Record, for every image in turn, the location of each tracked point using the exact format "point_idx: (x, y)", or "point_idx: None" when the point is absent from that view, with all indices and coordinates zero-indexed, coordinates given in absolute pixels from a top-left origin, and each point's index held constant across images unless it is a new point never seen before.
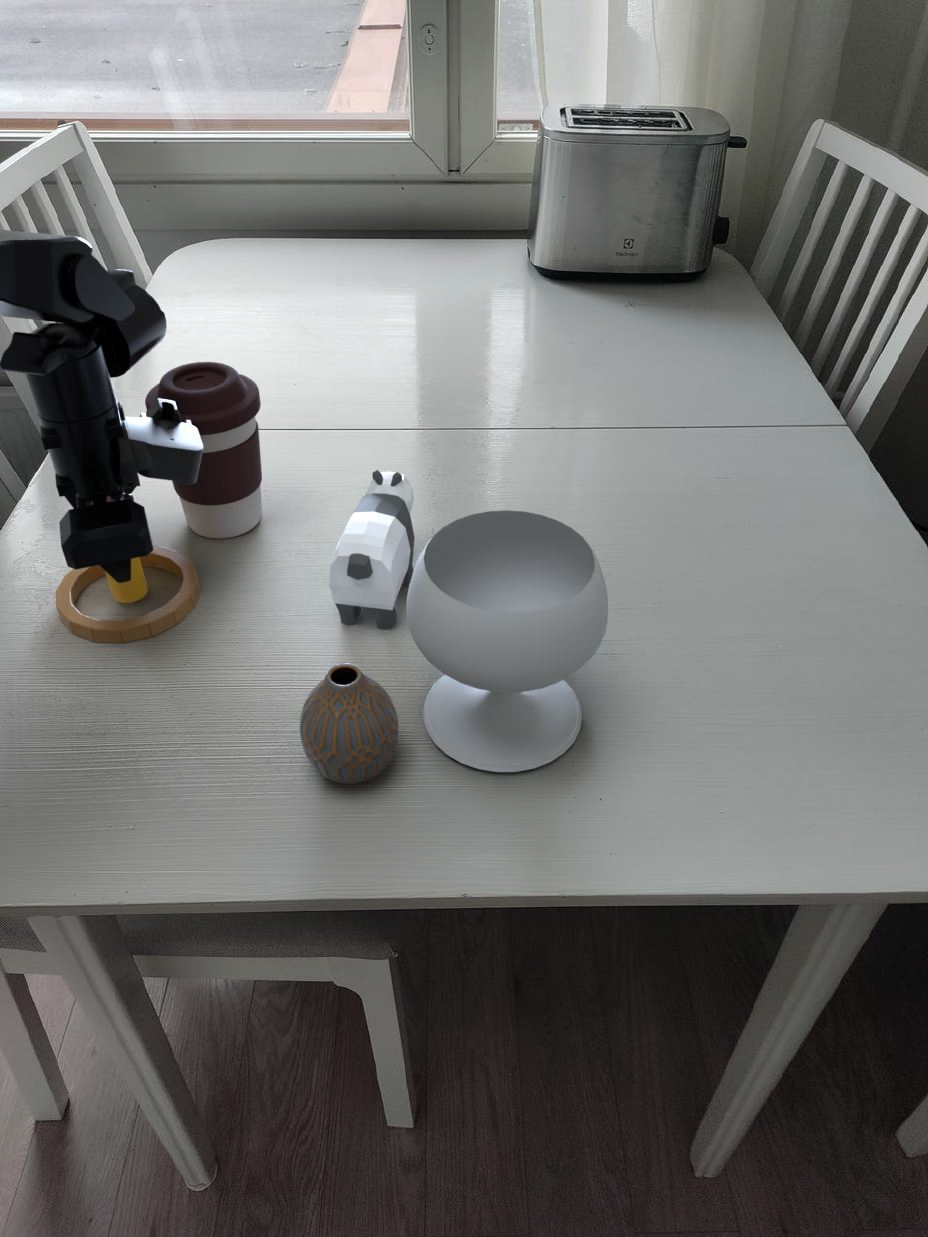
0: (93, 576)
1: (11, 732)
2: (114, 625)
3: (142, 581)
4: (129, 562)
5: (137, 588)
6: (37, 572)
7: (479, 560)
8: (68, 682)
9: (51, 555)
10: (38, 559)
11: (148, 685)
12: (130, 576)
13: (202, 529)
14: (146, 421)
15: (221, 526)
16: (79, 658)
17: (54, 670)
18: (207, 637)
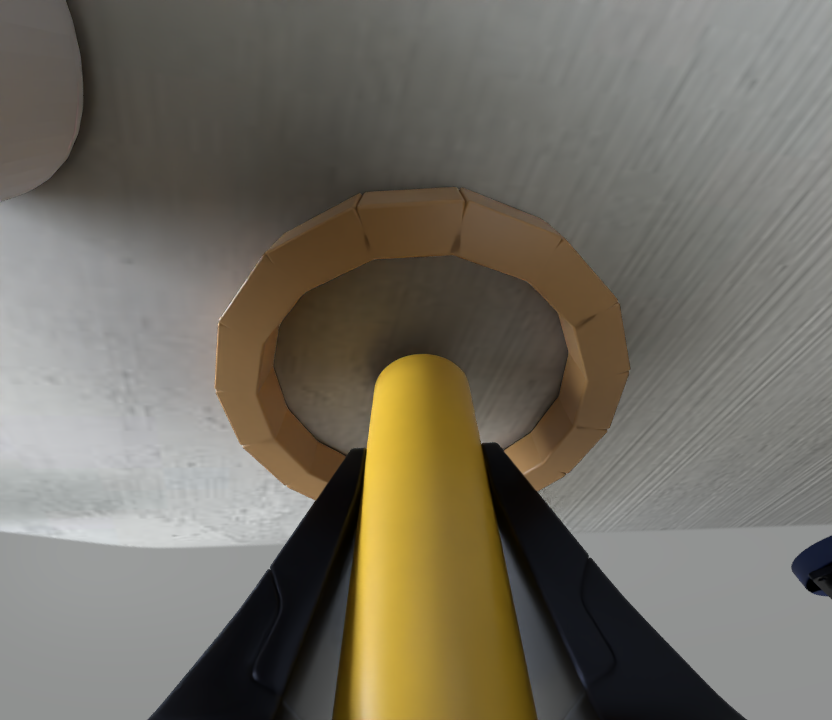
0: (320, 451)
1: (705, 528)
2: (587, 438)
3: (452, 390)
4: (554, 516)
5: (468, 397)
6: (279, 517)
7: None
8: (645, 475)
9: (219, 502)
10: (233, 517)
11: (780, 356)
12: (508, 456)
13: (53, 134)
14: None
15: (14, 2)
16: (586, 463)
17: (595, 491)
18: (716, 187)
